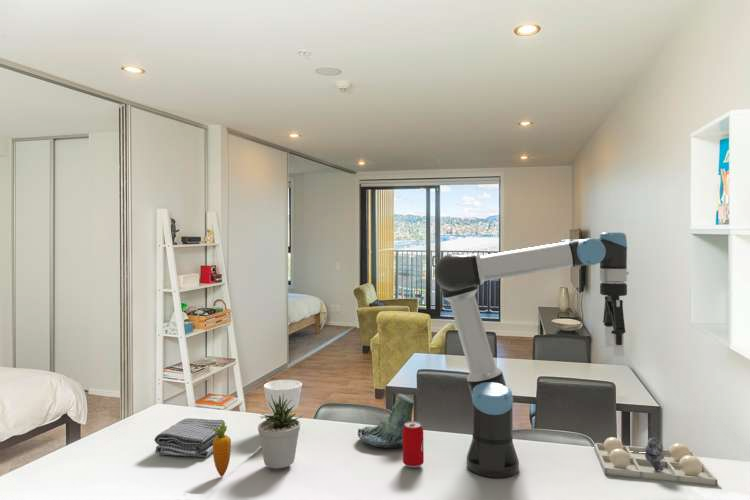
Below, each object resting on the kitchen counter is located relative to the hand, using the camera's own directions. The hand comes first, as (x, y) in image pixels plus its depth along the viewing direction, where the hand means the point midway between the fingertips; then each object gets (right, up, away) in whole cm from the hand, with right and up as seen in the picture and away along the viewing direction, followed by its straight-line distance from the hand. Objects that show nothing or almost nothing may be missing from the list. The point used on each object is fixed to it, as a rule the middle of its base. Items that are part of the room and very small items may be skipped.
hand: (613, 351), depth 152 cm
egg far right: (+18, -32, -5) cm, 37 cm away
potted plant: (-102, -33, -3) cm, 108 cm away
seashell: (+6, -32, -11) cm, 35 cm away
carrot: (-117, -33, -12) cm, 123 cm away
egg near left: (-2, -32, -9) cm, 33 cm away
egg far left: (0, -32, 0) cm, 32 cm away
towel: (-133, -34, +8) cm, 138 cm away
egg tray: (+8, -33, -7) cm, 34 cm away
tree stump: (-71, -36, +16) cm, 81 cm away
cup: (-107, -33, +25) cm, 115 cm away
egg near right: (+15, -32, -14) cm, 38 cm away
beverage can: (-62, -33, -5) cm, 71 cm away
